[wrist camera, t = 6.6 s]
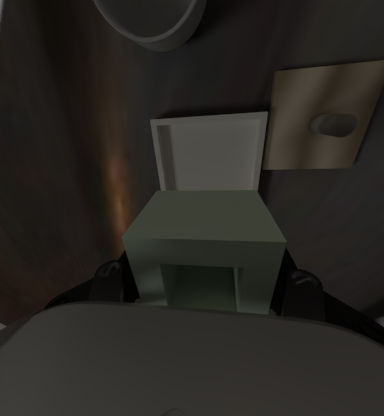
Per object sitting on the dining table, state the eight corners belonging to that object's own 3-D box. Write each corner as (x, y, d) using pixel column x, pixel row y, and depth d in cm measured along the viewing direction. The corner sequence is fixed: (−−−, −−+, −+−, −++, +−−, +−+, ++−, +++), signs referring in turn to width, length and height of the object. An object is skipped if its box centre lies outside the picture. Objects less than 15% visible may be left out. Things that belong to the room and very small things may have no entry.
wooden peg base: (385, 61, 19) (454, 39, 14) (346, 166, 25) (384, 180, 19) (274, 72, 21) (295, 57, 16) (261, 168, 27) (273, 182, 21)
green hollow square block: (256, 189, 11) (286, 242, 6) (246, 264, 14) (262, 335, 9) (156, 190, 11) (121, 237, 7) (168, 261, 14) (148, 324, 10)
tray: (264, 111, 23) (268, 111, 21) (251, 210, 31) (254, 217, 29) (155, 119, 26) (150, 119, 24) (168, 209, 33) (165, 215, 31)
